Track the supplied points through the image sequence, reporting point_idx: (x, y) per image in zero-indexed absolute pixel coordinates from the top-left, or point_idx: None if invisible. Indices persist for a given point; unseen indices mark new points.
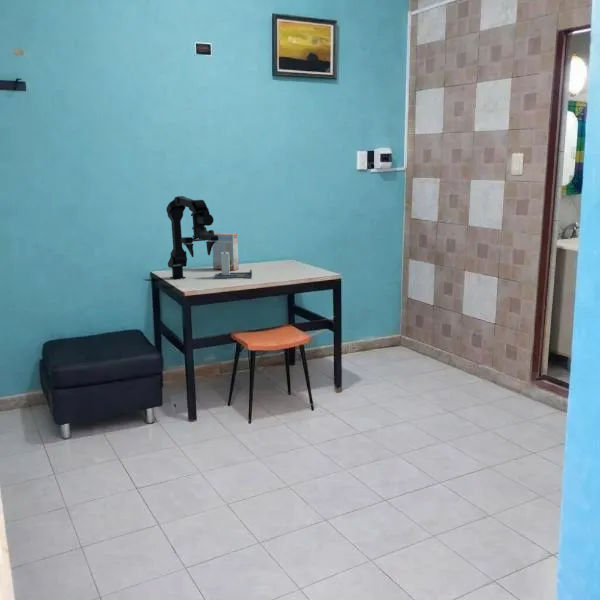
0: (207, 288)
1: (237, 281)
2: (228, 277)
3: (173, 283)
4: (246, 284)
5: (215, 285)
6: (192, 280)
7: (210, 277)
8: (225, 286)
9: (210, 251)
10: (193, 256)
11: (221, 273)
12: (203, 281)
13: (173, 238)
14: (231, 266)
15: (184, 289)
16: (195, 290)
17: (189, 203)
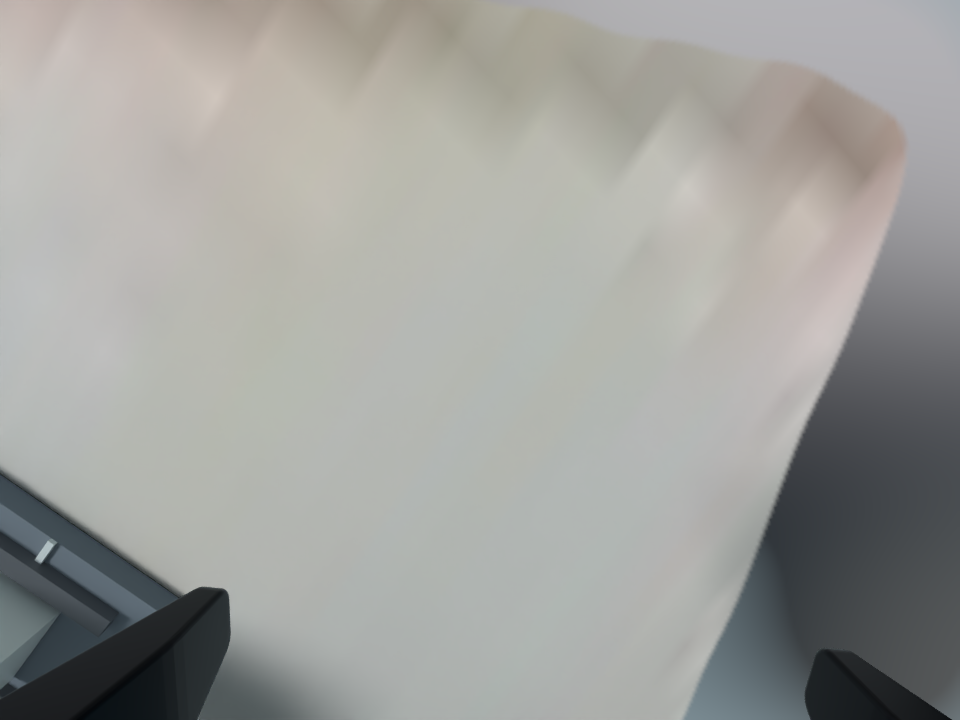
0: (574, 170)
1: (32, 288)
2: (30, 512)
3: (665, 707)
4: (31, 15)
5: (385, 267)
6: (414, 702)
7: None
8: (324, 110)
9: (84, 661)
10: (837, 655)
11: None
12: (355, 576)
13: None
14: None
15: (812, 329)
16: (764, 169)
17: None
